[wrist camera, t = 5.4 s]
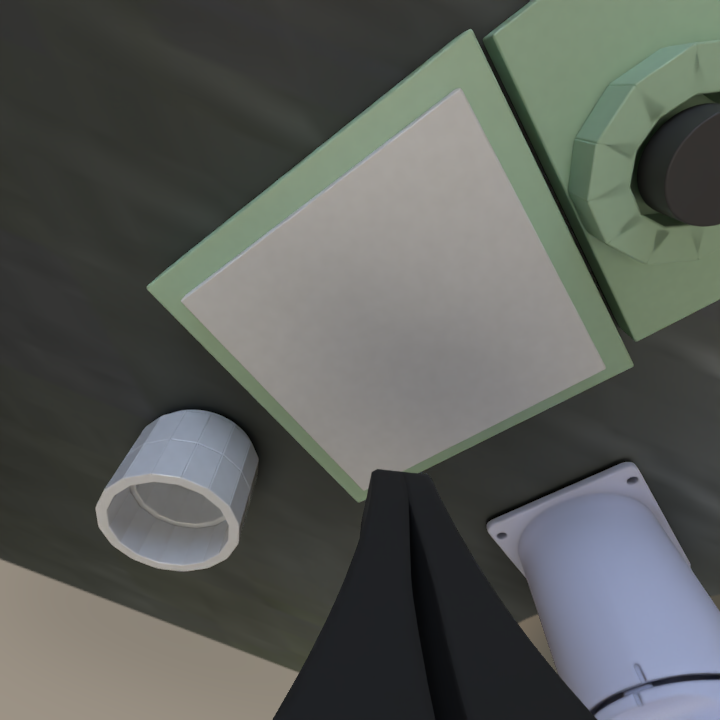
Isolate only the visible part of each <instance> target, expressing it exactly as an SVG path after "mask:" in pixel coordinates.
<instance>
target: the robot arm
mask: <svg viewBox="0 0 720 720" xmlns="http://www.w3.org/2000/svg"><path fill="white" fill-rule="evenodd" d="M630 477H631V478H630ZM486 527H487V531H488V533H489V534H490V536H491V537H492V538H493V539H494V540H495V542H496V543H497V544H498V545H499V546H500V548H501V549H502V550H503V551H504V552H505V554H506V555H507V556H508V557H509V558H510V560H511V561H512V562H513V563H514V564H515V566H516V567H517V568H518V569H519V570H520V572H521V573H522V574H523V575H524V576H525V578H526V579H527V582H528V585H529V588H530V591H531V594H532V597H533V600H534V603H535V606H536V609H537V612H538V615H539V618H540V621H541V624H542V627H543V630H544V633H545V636H546V639H547V642H548V645H549V648H550V651H551V654H552V657H553V660H554V663H555V667H556V669H557V673H558V674H557V673H556V672H555V671H554V670H553V668H552V667H551V666H550V665H549V663H548V662H547V661H546V660H545V658H544V657H543V656H542V655H541V653H540V652H539V651H538V650H537V648H536V647H535V646H534V645H533V643H532V642H531V641H530V639H529V638H528V637H527V635H526V634H525V633H524V632H523V630H522V629H521V628H520V626H519V625H518V623H517V622H516V621H515V619H514V618H513V617H512V615H511V614H510V613H509V611H508V610H507V608H506V607H505V605H504V604H503V603H502V601H501V600H500V598H499V597H498V595H497V594H496V592H495V591H494V589H493V588H492V586H491V585H490V583H489V582H488V580H487V579H486V577H485V575H484V574H483V572H482V571H481V569H480V568H479V566H478V564H477V563H476V561H475V559H474V558H473V556H472V554H471V553H470V551H469V549H468V547H467V546H466V544H465V542H464V541H463V539H462V537H461V536H460V534H459V532H458V530H457V528H456V527H455V525H454V523H453V521H452V519H451V517H450V515H449V513H448V512H447V510H446V508H445V506H444V504H443V502H442V500H441V498H440V496H439V494H438V492H437V490H436V487H435V485H434V483H433V481H432V479H431V478H430V476H429V475H427V474H418V473H409V472H400V471H391V470H382V469H376V470H374V471H373V472H372V473H371V478H370V483H369V488H368V493H367V498H366V502H365V507H364V512H363V517H362V522H361V532H360V539H359V543H358V546H357V548H356V551H355V554H354V556H353V559H352V562H351V564H350V567H349V570H348V572H347V575H346V577H345V580H344V582H343V585H342V587H341V589H340V592H339V594H338V596H337V599H336V601H335V603H334V605H333V607H332V609H331V612H330V614H329V616H328V618H327V620H326V622H325V624H324V626H323V628H322V630H321V632H320V634H319V636H318V638H317V640H316V642H315V644H314V646H313V648H312V650H311V652H310V654H309V656H308V658H307V660H306V662H305V663H304V665H303V667H302V669H301V671H300V673H299V674H298V676H297V678H296V680H295V681H294V683H293V685H292V687H291V688H290V690H289V692H288V694H287V695H286V697H285V699H284V701H283V702H282V704H281V706H280V708H279V709H278V711H277V713H276V715H275V716H274V718H273V720H720V611H719V610H718V608H717V607H716V605H715V604H714V602H713V601H712V599H711V598H710V596H709V595H708V593H707V592H706V590H705V589H704V588H703V586H702V585H701V583H700V582H699V580H698V579H697V577H696V576H695V574H694V573H693V571H692V570H691V568H690V566H691V565H690V562H689V561H688V559H687V557H686V555H685V553H684V551H683V550H682V548H681V546H680V544H679V542H678V540H677V539H676V537H675V535H674V533H673V531H672V529H671V528H670V526H669V524H668V522H667V520H666V518H665V517H664V515H663V513H662V511H661V509H660V508H659V506H658V504H657V502H656V500H655V498H654V497H653V495H652V493H651V491H650V489H649V487H648V486H647V484H646V482H645V480H644V478H643V476H642V475H641V473H640V471H639V469H638V468H637V466H636V465H635V464H634V463H632V462H623V463H620V464H618V465H616V466H613V467H611V468H609V469H606V470H604V471H602V472H600V473H597V474H595V475H593V476H590V477H588V478H586V479H584V480H581V481H579V482H577V483H574V484H572V485H570V486H568V487H565V488H563V489H561V490H558V491H556V492H554V493H552V494H549V495H547V496H545V497H542V498H540V499H538V500H536V501H533V502H531V503H529V504H526V505H524V506H522V507H520V508H517V509H515V510H513V511H510V512H508V513H506V514H504V515H501V516H499V517H497V518H494V519H492V520H490V521H489V522H488V523H487V526H486Z"/></svg>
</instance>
